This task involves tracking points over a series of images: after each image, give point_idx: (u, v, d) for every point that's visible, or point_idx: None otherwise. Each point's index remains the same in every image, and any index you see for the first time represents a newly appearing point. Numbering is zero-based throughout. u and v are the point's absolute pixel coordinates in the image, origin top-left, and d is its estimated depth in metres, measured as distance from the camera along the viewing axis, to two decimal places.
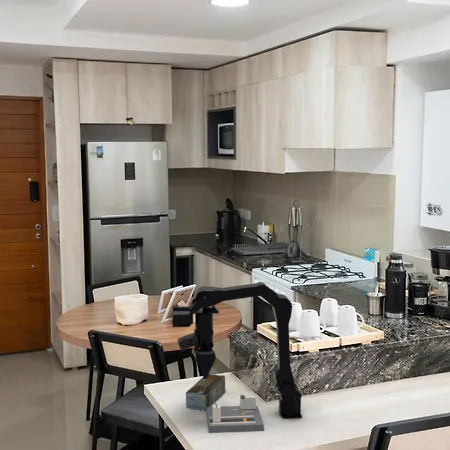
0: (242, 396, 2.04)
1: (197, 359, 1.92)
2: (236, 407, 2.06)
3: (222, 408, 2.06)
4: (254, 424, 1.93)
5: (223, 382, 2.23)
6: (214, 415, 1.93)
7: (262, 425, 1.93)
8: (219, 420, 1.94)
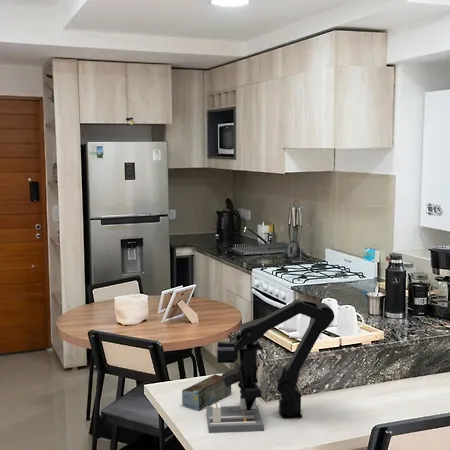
0: None
1: (243, 396, 1.95)
2: (236, 407, 2.06)
3: (222, 408, 2.06)
4: (254, 424, 1.93)
5: None
6: (214, 415, 1.93)
7: (262, 425, 1.93)
8: (219, 420, 1.94)
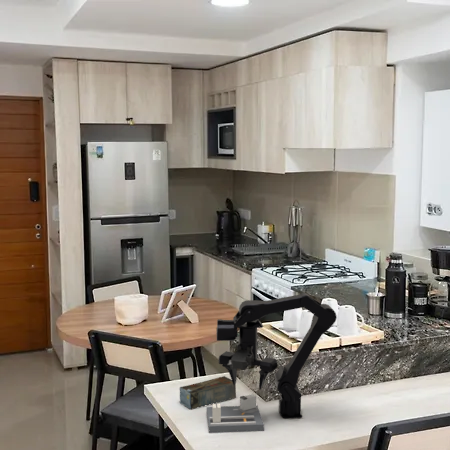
0: (243, 397, 2.03)
1: (271, 370, 1.97)
2: (236, 407, 2.06)
3: (222, 408, 2.06)
4: (254, 424, 1.93)
5: (230, 387, 2.18)
6: (214, 415, 1.93)
7: (262, 425, 1.93)
8: (219, 420, 1.94)
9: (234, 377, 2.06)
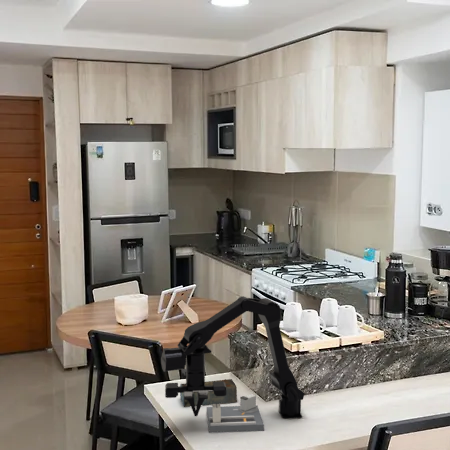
0: (244, 397, 2.03)
1: None
2: (236, 407, 2.06)
3: (222, 408, 2.06)
4: (254, 424, 1.93)
5: (230, 391, 2.15)
6: (214, 415, 1.93)
7: (262, 425, 1.93)
8: (219, 420, 1.94)
9: (196, 407, 1.94)
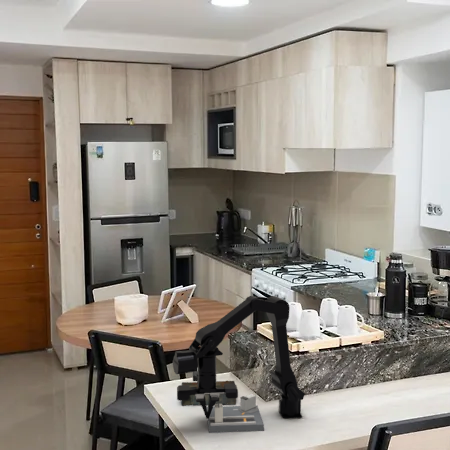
0: (244, 397, 2.03)
1: None
2: (236, 407, 2.06)
3: None
4: (254, 424, 1.93)
5: None
6: (216, 415, 1.93)
7: (262, 425, 1.93)
8: (221, 420, 1.94)
9: None
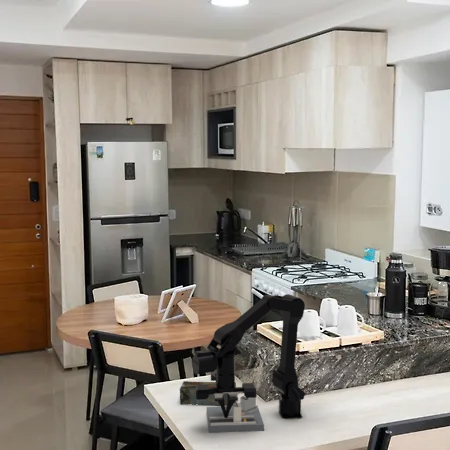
0: (244, 397, 2.03)
1: None
2: None
3: None
4: (254, 424, 1.93)
5: None
6: (235, 414, 1.94)
7: (262, 425, 1.93)
8: (240, 419, 1.94)
9: (226, 409, 1.95)
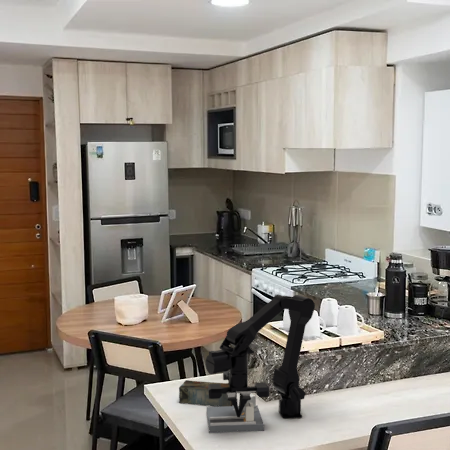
0: None
1: None
2: None
3: (222, 408, 2.06)
4: (254, 424, 1.93)
5: (225, 395, 2.11)
6: (247, 414, 1.94)
7: (262, 425, 1.93)
8: (252, 419, 1.94)
9: (238, 408, 1.96)
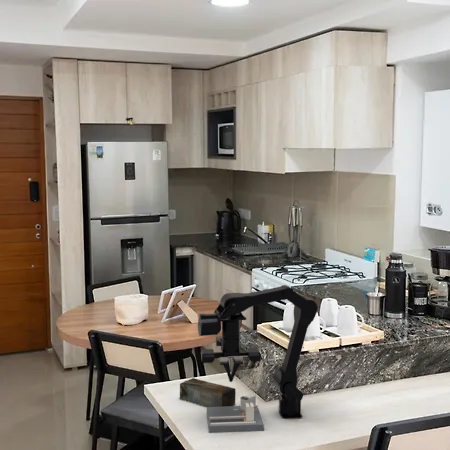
0: (244, 397, 2.03)
1: None
2: (236, 407, 2.06)
3: (222, 408, 2.06)
4: (254, 424, 1.93)
5: (217, 398, 2.09)
6: (247, 414, 1.94)
7: (262, 425, 1.93)
8: (252, 419, 1.94)
9: (231, 373, 2.00)
